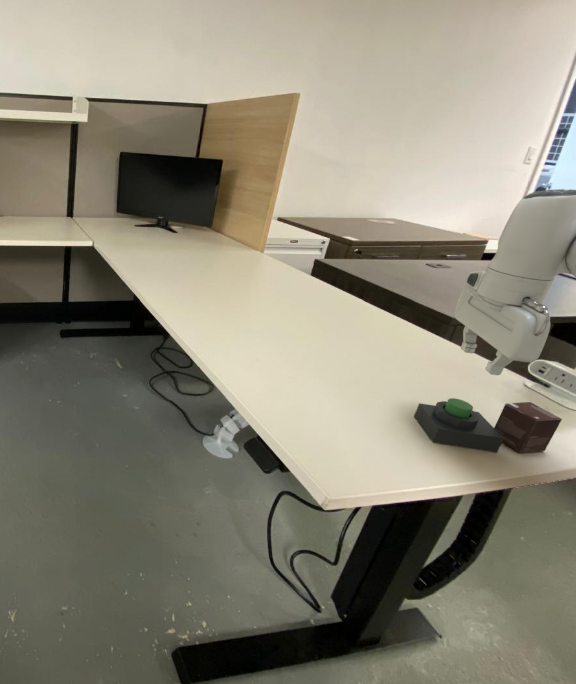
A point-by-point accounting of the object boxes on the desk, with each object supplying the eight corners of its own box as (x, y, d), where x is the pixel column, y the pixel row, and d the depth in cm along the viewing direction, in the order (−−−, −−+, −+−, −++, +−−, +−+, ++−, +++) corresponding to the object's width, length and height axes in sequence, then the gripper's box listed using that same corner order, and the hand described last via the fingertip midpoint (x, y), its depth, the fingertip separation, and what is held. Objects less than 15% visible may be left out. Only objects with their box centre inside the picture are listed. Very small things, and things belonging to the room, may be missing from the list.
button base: (472, 425, 94) (482, 404, 92) (497, 452, 86) (508, 430, 84) (413, 416, 95) (422, 395, 93) (432, 442, 87) (442, 420, 85)
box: (545, 452, 87) (564, 419, 84) (519, 454, 86) (536, 420, 83) (514, 432, 92) (530, 401, 89) (489, 434, 91) (505, 402, 88)
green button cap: (462, 409, 90) (466, 400, 89) (473, 420, 87) (477, 411, 86) (440, 405, 91) (444, 396, 90) (449, 416, 87) (454, 407, 86)
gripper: (576, 312, 69) (533, 393, 74) (499, 275, 87) (469, 341, 93) (529, 307, 70) (490, 387, 75) (462, 270, 88) (435, 337, 94)
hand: (478, 361), depth 84 cm, fingers open, 7 cm apart
